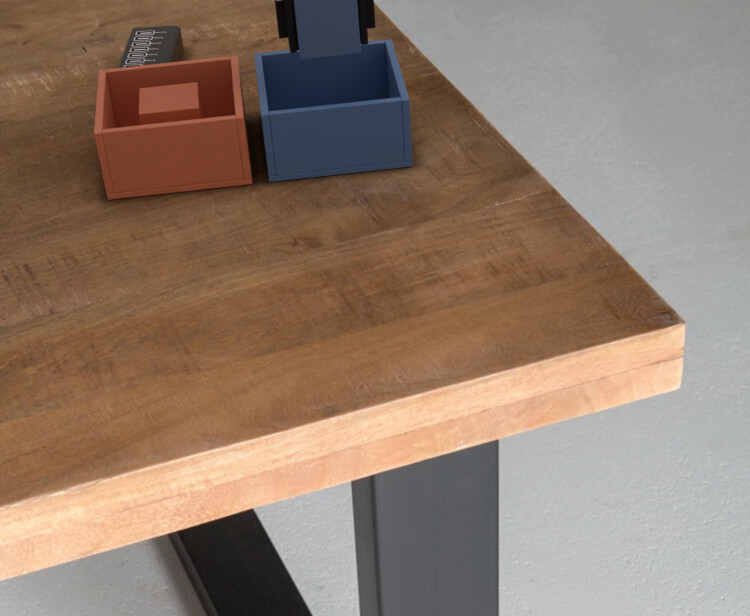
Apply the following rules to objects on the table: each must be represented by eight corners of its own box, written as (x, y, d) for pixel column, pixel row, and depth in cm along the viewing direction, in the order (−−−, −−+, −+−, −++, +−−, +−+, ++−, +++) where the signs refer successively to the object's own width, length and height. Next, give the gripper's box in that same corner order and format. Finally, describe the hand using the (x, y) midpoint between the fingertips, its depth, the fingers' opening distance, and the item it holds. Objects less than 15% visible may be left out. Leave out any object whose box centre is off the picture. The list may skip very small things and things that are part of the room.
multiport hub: (184, 49, 128) (180, 24, 127) (162, 123, 118) (158, 96, 116) (136, 51, 128) (132, 26, 127) (110, 125, 118) (105, 99, 116)
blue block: (300, 60, 106) (293, -1, 103) (296, 35, 110) (289, -25, 106) (361, 53, 106) (356, -8, 103) (354, 28, 110) (350, -32, 107)
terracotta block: (148, 169, 111) (138, 114, 108) (149, 142, 114) (139, 88, 111) (207, 162, 111) (198, 107, 108) (205, 136, 114) (197, 81, 111)
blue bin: (269, 182, 109) (260, 115, 105) (261, 117, 117) (253, 53, 114) (412, 166, 110) (409, 99, 106) (395, 103, 118) (391, 38, 114)
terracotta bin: (107, 200, 109) (93, 133, 105) (111, 133, 117) (98, 69, 113) (252, 184, 109) (243, 117, 105) (246, 119, 117) (237, 55, 114)
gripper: (179, -193, 92) (219, 75, 105) (435, -220, 93) (444, 49, 106) (178, -224, 98) (216, 34, 110) (420, -250, 98) (430, 10, 111)
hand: (327, 39), depth 108 cm, fingers closed on blue block, 4 cm apart
